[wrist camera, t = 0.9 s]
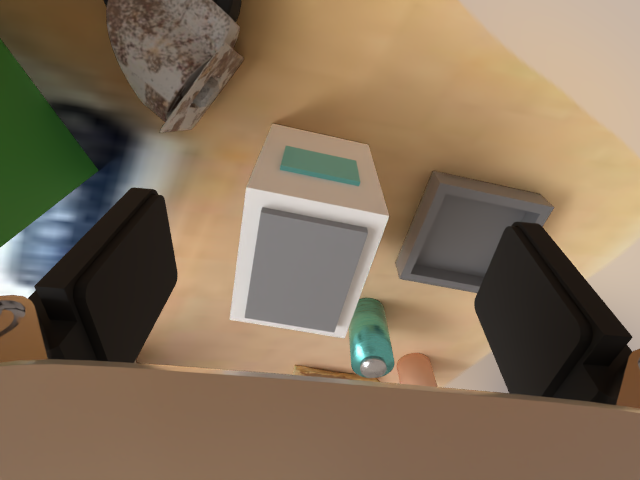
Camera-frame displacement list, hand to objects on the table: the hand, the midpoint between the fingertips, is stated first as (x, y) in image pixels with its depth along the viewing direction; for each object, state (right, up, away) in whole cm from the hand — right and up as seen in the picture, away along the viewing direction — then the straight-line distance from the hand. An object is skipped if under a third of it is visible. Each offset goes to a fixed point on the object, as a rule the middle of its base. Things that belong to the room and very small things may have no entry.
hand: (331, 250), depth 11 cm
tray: (+13, +1, +25) cm, 28 cm away
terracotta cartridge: (+11, -15, +35) cm, 40 cm away
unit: (-1, +5, +23) cm, 23 cm away
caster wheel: (-10, +16, +16) cm, 25 cm away
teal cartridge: (+5, -8, +31) cm, 32 cm away
